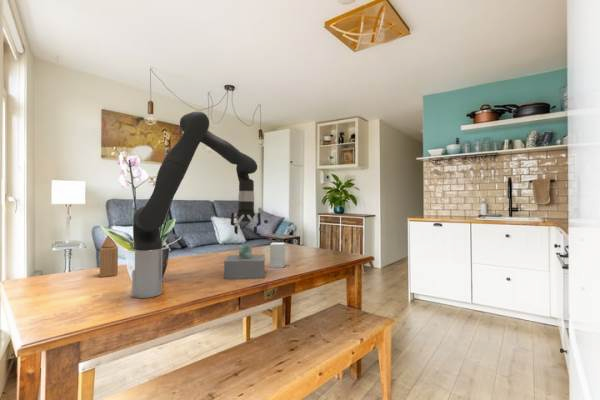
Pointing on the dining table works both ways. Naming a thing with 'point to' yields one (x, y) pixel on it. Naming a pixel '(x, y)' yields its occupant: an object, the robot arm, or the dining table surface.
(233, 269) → the charcoal stand
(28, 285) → the dining table surface
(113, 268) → the decorative item
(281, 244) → the supplement box
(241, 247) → the teal block
